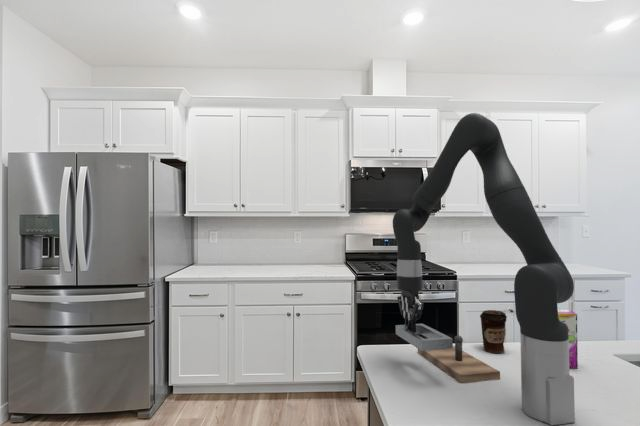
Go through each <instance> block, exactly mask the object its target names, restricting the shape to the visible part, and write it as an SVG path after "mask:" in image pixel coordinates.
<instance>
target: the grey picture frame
mask: <svg viewBox="0 0 640 426" xmlns="http://www.w3.org/2000/svg"><path fill="white" fill-rule="evenodd" d="M395 335H397V336H398V337H400V338H401V339H402V340H404V341H406V343H409V344H410V345H412V346H413V347H415V348H417V350H418V349H419V350H421V351H429V350H441V349H453V346H454V343H453V342H454V340H453V338H452V337H450V336H449V335H447V334H444V333H442V332H440V331H438V330H437V329H434V328H432V327H431V326H428V325H426V324H424V323H416V332H415V333H413V332H412V331H410V330H408V325H405V324H396V325H395ZM420 335H422V336H424V337H422V336H420ZM425 337H426V338H425Z"/></svg>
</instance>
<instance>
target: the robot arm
mask: <svg viewBox="0 0 640 426" xmlns="http://www.w3.org/2000/svg"><path fill="white" fill-rule="evenodd" d="M469 151H471V153H472V154H473V156H475V158H476V161H477V162H478V164H479V166H480V169H481V172H482V176H483V192H484V193H483V194H484V198H485V201H486V203H487V206H488V208H489V210H490V213H491V215H492V217H493V219H494V221H495V223H496V224H497V225H498V226H499V227H500V229H501V230H502V231H503V232H504V233H505V234H506V235H507V237H509V239H510V240H511V241H513V242H514V244H515V245H516V246H517V248H518V249H519V251H520V252H521V254H522V256H523V258H524V261H525V263H526V265H524V266H522V267H521V268H519V270H518V271H517V272H516V275H515V278H514V280H513V281H514V283H513V292H514V293H513V294H514V305H515V315H516V320H517V323H518V324H519V328H520V329H519V332H520V334H519V335H520V336H519V337H520V379H521V380H520V381H521V382H520V385H521V387H520V390H521V409H522V411H523V412H524V413H525V415H528V416H529V417H531V418H532V419H535V420H536V421H541V422H542V423H546V424H549V425H550V426H557V425H564V424H572V423H575V422H576V413H575V411H576V409H575V407H576V405H575V378H574V376H573V375H570V368H569V335H568V327H567V326H566V325H565V324H564V323H562V322H560V320H559V317H558V310H559V309H558V304H562V303H564V302H567V301H568V300H570V298H571V297H572V296H573V294H574V289H575V285H574V283H575V282H574V279H573V277H572V275H571V272H570V271H569V270H568V267H567V266H566V264H565V263H564V261H563V260H562V257H561V256H560V255H559V253H558V252H557V250H556V248H555V247H554V245H553V243H552V242H551V240H550V238H549V236H548V234H547V231H546V229H545V228H544V226H543V223H542V221H541V219H540V217H539V215H538V212H537V211H536V209H535V207H534V205H533V201H532V200H531V198H530V196H529V194H528V191H527V190H526V188H525V186H524V184H523V182H522V179H520V177H519V175H518V173H517V171H516V169H515V167H514V165H513V164H512V162H511V160H510V158H509V156H508V153H507V150H506V148H505V145H504V141H503V138H502V135H501V132H500V130H499V128H498V126H497V124H496V123H495V122H494V121H492V120H491V119H489V118H487V117H486V116H484V115H483V114H480V113H477V112H475V113H474V112H472V113H469V114H468V113H467V114H466V115H464V116H462V117H461V119H460V120H459V121H458V122H457V123H456V125H455V127H454V128H453V130H452V132H451V134H450V135H449V138H448V139H447V141H446V143H445V145H444V147H443V149H442V151H441V153H440V154H439V156H438V157H437V159H436V162H435V164H434V165H433V167H432V168H431V170H430V171H429V173H428V174H427V176H426V178H425V179H424V180H423V182H422V183H421V184H420V186H419V187H418V188H417V190H416V191H415V192H414V194H413V196H412V202H413V204H412V206H411V208H410V209H406V208H402V209H398V210H397V211H396V212H395V213H394V214H393V218H392V229H393V234H394V238H395V242H396V245H397V248H396V249H397V250H396V251H397V263H396V287H397V290H399V291H401V292H400V296H399V295H398V296H397V303H398V307H399V311H400V315H401V316H403V318H404V325H408V330H410V331H412V332H413V333H415V332H416V324H417V320H421V316H422V313H423V310H424V307H425V304H424V302H420V296H419V293H420V292H421V291H422V290H423V264H422V249H421V248H422V247H421V246H422V245H421V243H420V242H419V241H418V240H417V239H416V237H415V233H416V232H418V231H420V230H421V229H422V228H423V227H425V225H426V223H427V221H428V220H429V218H430V216H431V214H432V211H433V209H434V207H436V205H437V204H438V203H439V202H440V200H441V199H442V198H443V197H444V196H445V194H446V192H447V191H448V190H449V187H450V185H451V182H452V179H453V176H454V173H455V172H456V171H455V170H456V169H457V167H458V165H459V163H460V162H461V160H462V159H463V158H464V156H465V155H466V154H467V153H468V152H469Z"/></svg>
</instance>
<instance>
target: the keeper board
mask: <svg viewBox="0 0 640 426" xmlns="http://www.w3.org/2000/svg"><path fill="white" fill-rule="evenodd" d="M463 341H464V339H463V337H462V336H461V335H456V336H454V340H453V342H454V345H453V349H441V350H429V351H421V350H419V349H418V348H417V353H418V354H420V355H421V356H422V357H424V358H425V359H427V360H428V361H430V362H431V363H432V364H433V365H435V366H436V367H438V368H439V369H440V370H443V372H445V373H446V374H447V375H450V377H452V378H454V379H455V381H458V382H459V383H461V384H463V383H464V384H465V383H472V382H484V381H494V380H501V371H500V370H498V369H496V368H494V367H492V366H491V365H489V364H487V363H485V362H483V361H482V360H480V359H478V358H477V357H474V356H473V355H471V354H469V353H467V352H465V351H463Z"/></svg>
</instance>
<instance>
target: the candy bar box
mask: <svg viewBox="0 0 640 426" xmlns="http://www.w3.org/2000/svg"><path fill="white" fill-rule="evenodd" d="M558 317H559V320H560V322H562V323H564V324H565V325H566V326H567V327H568V335H569V369H578V366H579V365H578V313H576V312H574V311H571V310H568V309H558Z"/></svg>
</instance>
